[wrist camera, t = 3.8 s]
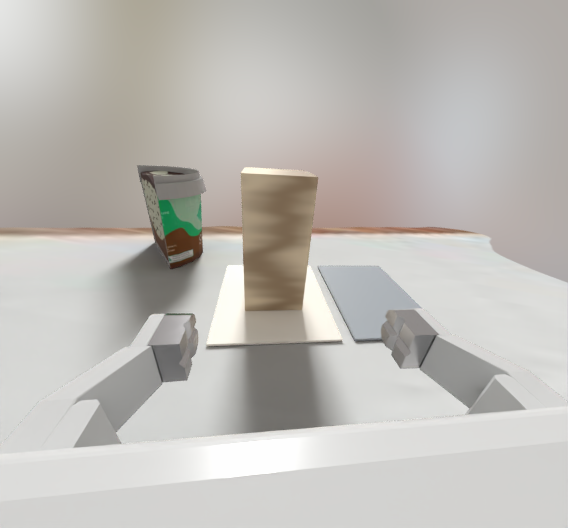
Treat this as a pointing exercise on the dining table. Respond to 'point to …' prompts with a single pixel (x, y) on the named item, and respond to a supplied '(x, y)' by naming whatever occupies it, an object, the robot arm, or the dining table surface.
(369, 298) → the board
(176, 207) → the food container
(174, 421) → the dining table surface
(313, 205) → the birch block
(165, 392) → the dining table surface
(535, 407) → the robot arm
